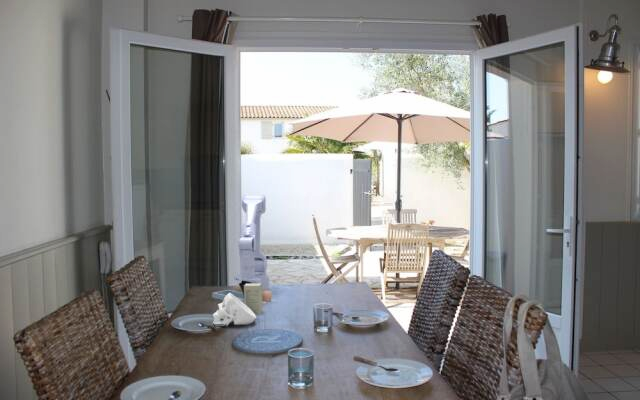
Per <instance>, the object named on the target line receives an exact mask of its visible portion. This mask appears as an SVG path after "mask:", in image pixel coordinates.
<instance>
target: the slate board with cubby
mask: <svg viewBox="0 0 640 400" xmlns="http://www.w3.org/2000/svg"><path fill="white" fill-rule="evenodd" d="M228 293H231V294H233V295H234V296H235V297H237V298H238V299H239V300H240V301H242V302H243V303H244V295H243V293H241V292H236V291H235V290H231V289H225V290H219V291H214V292H212V293H211V297H212V298H213V299H217V300H221V301H223V300H224V298H225V297H226V295H227V294H228ZM277 301H278V299H273V298H271V302H263V301H262V303H263V305H264V304H269V303H272V302H277Z"/></svg>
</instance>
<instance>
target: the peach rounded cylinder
mask: <svg viewBox="0 0 640 400" xmlns="http://www.w3.org/2000/svg"><path fill="white" fill-rule="evenodd" d="M271 299H272V290H270V289H269V290H264V291H262V301H263V302H269V303H272V302H271Z"/></svg>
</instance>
